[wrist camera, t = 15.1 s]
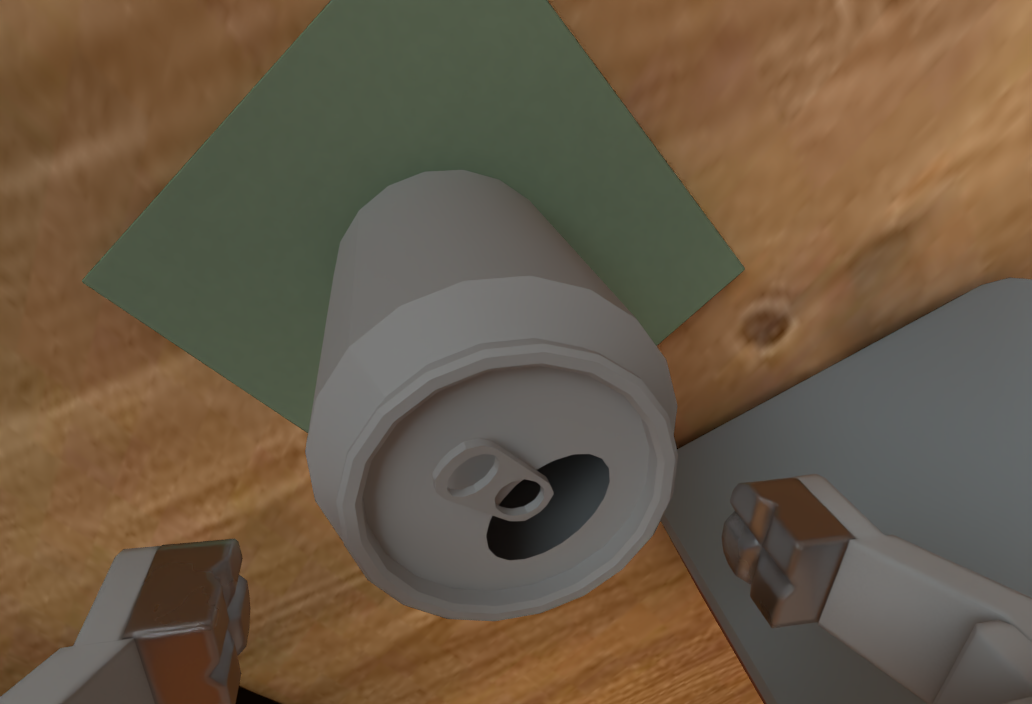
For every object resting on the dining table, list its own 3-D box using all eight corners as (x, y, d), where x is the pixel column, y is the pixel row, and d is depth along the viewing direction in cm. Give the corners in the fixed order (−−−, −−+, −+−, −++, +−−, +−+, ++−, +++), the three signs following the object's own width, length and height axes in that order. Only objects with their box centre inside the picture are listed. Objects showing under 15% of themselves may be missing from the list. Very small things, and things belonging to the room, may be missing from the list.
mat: (87, 275, 20) (80, 282, 19) (447, -129, 17) (449, -134, 16) (445, 517, 27) (447, 527, 27) (738, 264, 24) (746, 269, 24)
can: (456, 406, 24) (520, 698, 14) (287, 288, 21) (198, 555, 10) (595, 264, 22) (789, 469, 12) (437, 111, 19) (516, 212, 9)
